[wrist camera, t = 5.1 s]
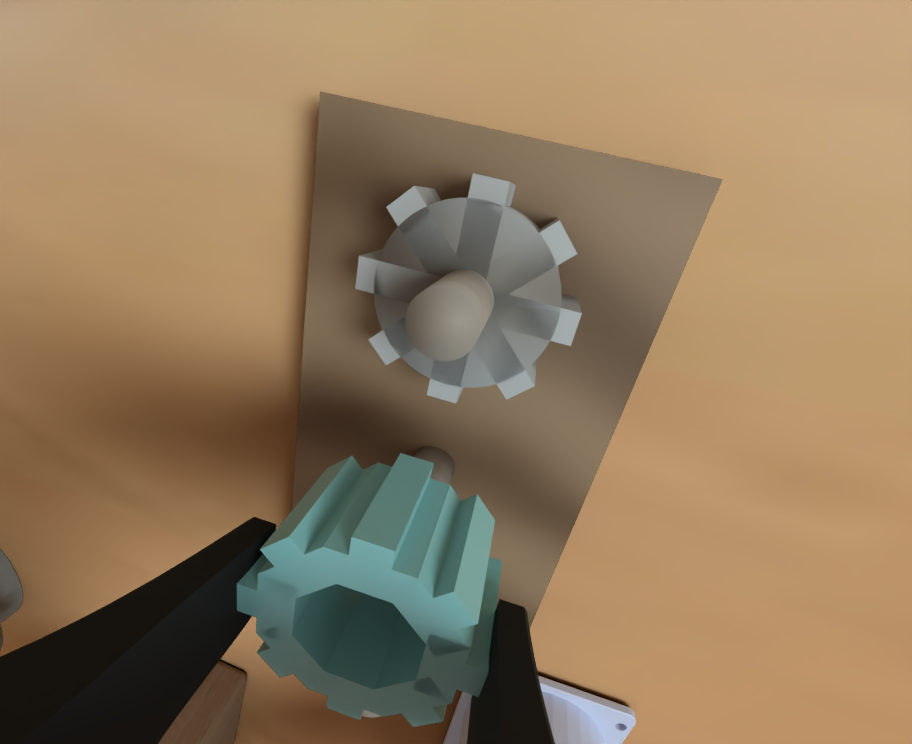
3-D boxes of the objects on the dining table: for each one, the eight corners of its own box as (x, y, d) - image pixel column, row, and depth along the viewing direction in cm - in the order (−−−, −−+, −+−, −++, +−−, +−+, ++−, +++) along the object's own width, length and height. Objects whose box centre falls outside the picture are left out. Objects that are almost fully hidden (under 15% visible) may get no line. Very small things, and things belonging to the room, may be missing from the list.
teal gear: (474, 639, 13) (455, 756, 10) (300, 578, 13) (237, 674, 11) (527, 491, 11) (520, 592, 8) (312, 426, 11) (236, 499, 8)
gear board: (505, 659, 21) (490, 820, 15) (301, 587, 22) (219, 715, 16) (702, 182, 12) (832, 163, 7) (343, 103, 13) (198, 31, 8)
